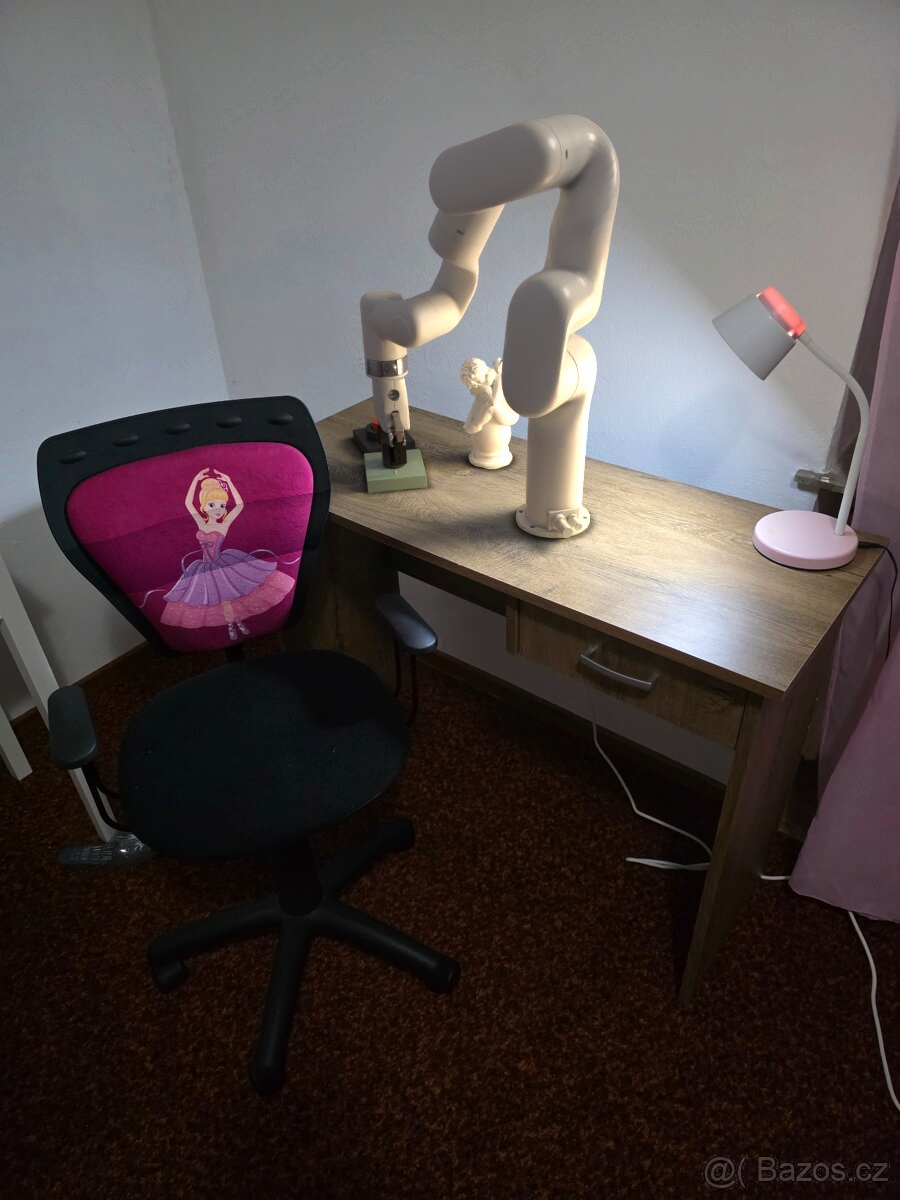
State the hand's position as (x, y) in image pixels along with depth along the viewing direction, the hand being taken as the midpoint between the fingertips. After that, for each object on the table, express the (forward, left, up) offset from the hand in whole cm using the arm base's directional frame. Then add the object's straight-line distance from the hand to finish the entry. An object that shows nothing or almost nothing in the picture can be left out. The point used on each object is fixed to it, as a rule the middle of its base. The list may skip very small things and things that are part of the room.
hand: (392, 453), depth 151 cm
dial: (0, 0, -2) cm, 2 cm away
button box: (+15, -1, -5) cm, 16 cm away
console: (0, 0, -5) cm, 5 cm away
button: (+15, -1, -1) cm, 15 cm away
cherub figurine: (+2, -21, -5) cm, 22 cm away
